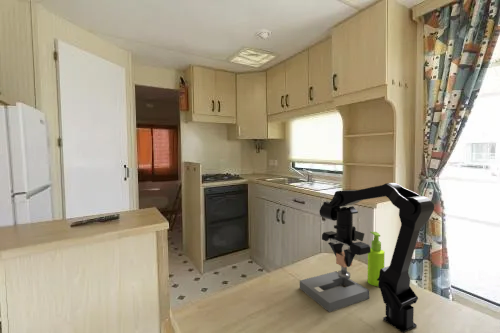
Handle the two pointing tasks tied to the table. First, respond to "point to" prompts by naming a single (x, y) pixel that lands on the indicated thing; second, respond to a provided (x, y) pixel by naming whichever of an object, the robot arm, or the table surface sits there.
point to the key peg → (342, 265)
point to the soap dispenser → (375, 260)
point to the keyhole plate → (333, 291)
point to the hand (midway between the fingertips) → (344, 264)
